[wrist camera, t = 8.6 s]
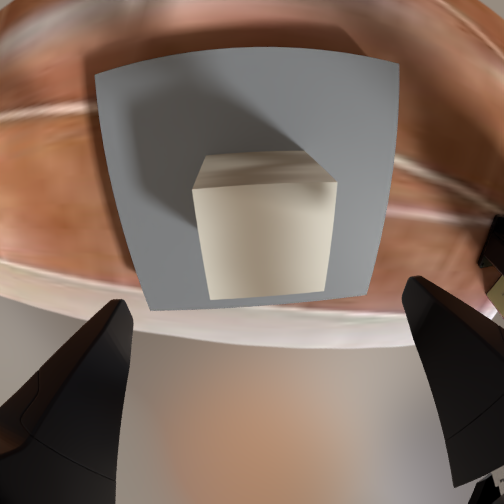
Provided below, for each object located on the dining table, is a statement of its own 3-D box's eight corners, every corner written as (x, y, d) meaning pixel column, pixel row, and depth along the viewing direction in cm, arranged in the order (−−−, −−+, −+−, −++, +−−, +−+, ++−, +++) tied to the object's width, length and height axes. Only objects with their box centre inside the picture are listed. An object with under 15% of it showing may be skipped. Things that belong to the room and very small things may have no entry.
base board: (374, 65, 13) (399, 63, 10) (353, 270, 22) (366, 294, 19) (116, 75, 12) (94, 74, 10) (158, 284, 21) (150, 310, 19)
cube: (304, 150, 13) (337, 181, 9) (301, 234, 16) (324, 291, 12) (206, 155, 13) (191, 189, 9) (215, 240, 16) (210, 300, 12)
